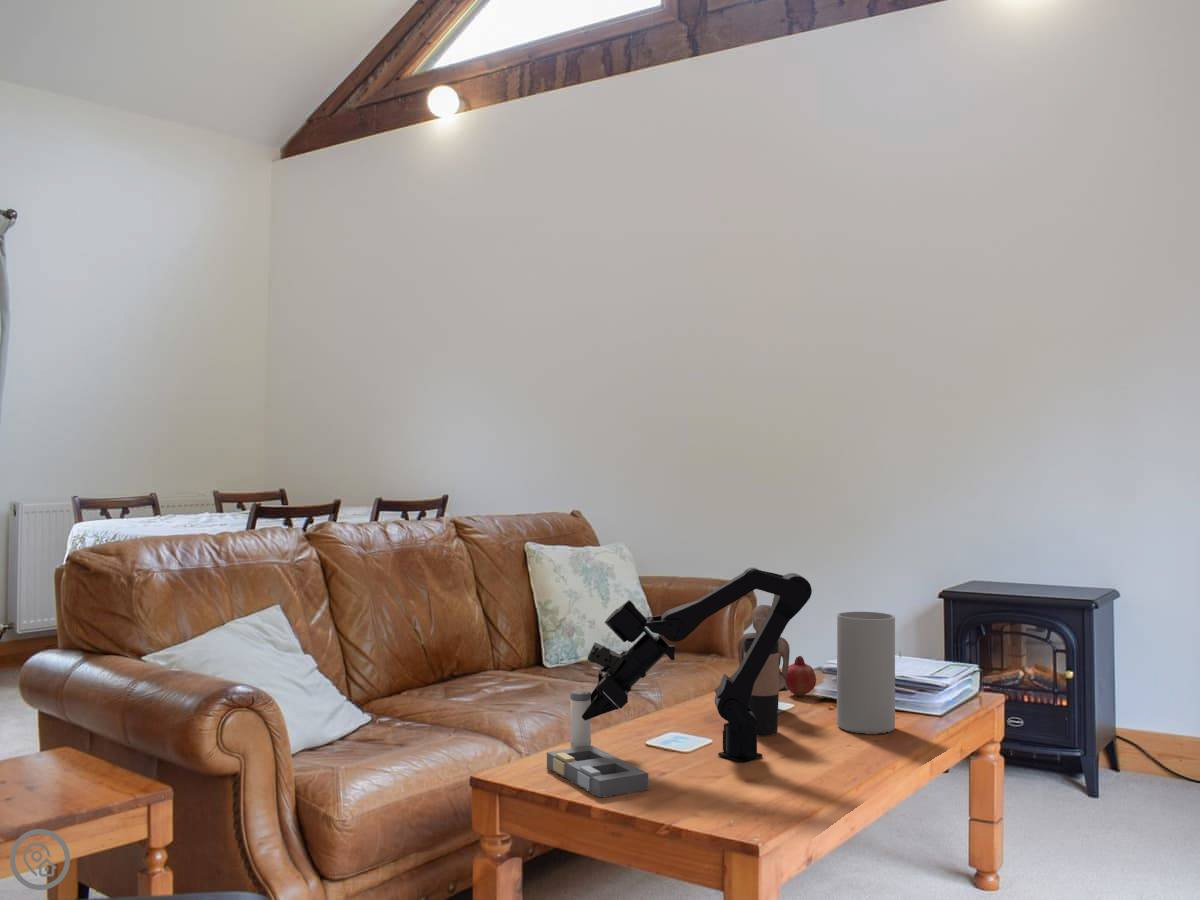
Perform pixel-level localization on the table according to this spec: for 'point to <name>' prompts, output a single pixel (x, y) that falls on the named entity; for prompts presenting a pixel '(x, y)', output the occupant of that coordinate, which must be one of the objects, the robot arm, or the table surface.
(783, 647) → the clay figurine
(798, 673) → the fruit
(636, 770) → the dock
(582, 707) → the white dome-top cylinder
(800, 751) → the table surface
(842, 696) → the cylinder vase
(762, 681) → the travel mug
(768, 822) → the table surface
